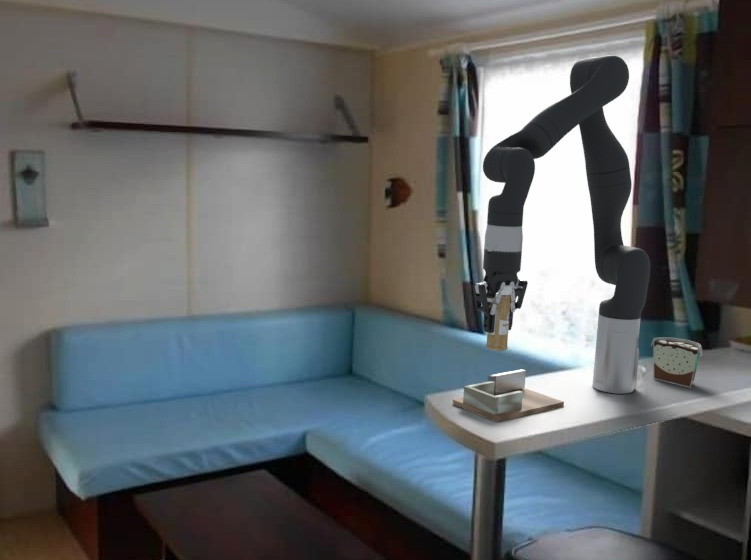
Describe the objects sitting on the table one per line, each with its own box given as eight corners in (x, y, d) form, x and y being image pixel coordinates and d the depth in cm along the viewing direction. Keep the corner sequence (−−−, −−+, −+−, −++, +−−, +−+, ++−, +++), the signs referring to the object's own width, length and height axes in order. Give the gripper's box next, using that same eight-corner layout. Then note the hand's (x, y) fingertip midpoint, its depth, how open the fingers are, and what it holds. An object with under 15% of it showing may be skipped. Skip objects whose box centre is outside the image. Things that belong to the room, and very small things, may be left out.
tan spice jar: (508, 352, 159) (513, 286, 157) (486, 350, 159) (490, 285, 157) (506, 346, 164) (510, 282, 161) (484, 345, 164) (488, 281, 162)
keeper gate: (490, 395, 169) (492, 377, 168) (484, 393, 170) (486, 375, 170) (525, 388, 175) (526, 370, 175) (519, 386, 177) (520, 368, 176)
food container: (707, 384, 189) (712, 344, 188) (696, 389, 185) (701, 348, 184) (659, 373, 198) (663, 334, 196) (647, 377, 194) (651, 337, 192)
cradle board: (518, 390, 178) (519, 371, 177) (563, 406, 168) (565, 385, 167) (453, 404, 166) (454, 383, 165) (497, 422, 156) (498, 400, 155)
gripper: (513, 244, 165) (508, 324, 168) (464, 246, 157) (459, 330, 159) (541, 248, 159) (535, 331, 162) (491, 251, 151) (485, 338, 154)
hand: (497, 330), depth 161 cm, fingers closed on tan spice jar, 4 cm apart
